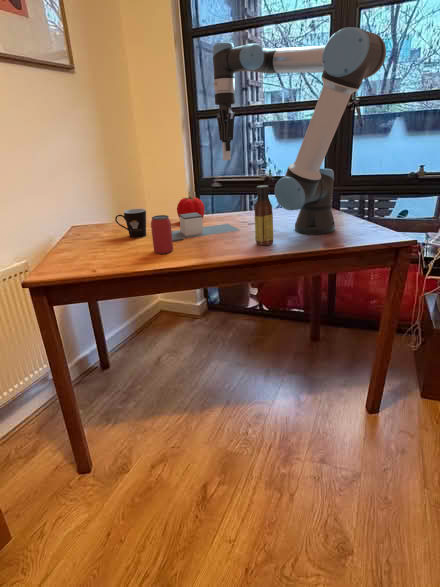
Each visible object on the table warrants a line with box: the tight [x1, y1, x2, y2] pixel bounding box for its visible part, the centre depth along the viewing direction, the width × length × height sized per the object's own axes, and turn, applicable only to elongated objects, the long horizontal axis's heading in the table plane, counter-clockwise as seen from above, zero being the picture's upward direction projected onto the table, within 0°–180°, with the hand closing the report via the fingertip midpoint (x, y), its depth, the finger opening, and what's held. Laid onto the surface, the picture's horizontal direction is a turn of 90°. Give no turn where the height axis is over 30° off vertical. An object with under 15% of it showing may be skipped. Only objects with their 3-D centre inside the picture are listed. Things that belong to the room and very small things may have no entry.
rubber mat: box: [171, 223, 240, 243], centre depth 152 cm, size 13×28×1 cm, turn 112°
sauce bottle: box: [254, 184, 274, 247], centre depth 130 cm, size 7×6×20 cm
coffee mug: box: [115, 208, 147, 239], centre depth 150 cm, size 12×9×10 cm
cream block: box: [178, 213, 204, 236], centre depth 149 cm, size 7×7×7 cm
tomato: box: [176, 196, 206, 220], centre depth 167 cm, size 12×13×12 cm
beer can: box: [150, 214, 174, 255], centre depth 129 cm, size 7×7×12 cm
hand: (226, 159), depth 150 cm, fingers closed
